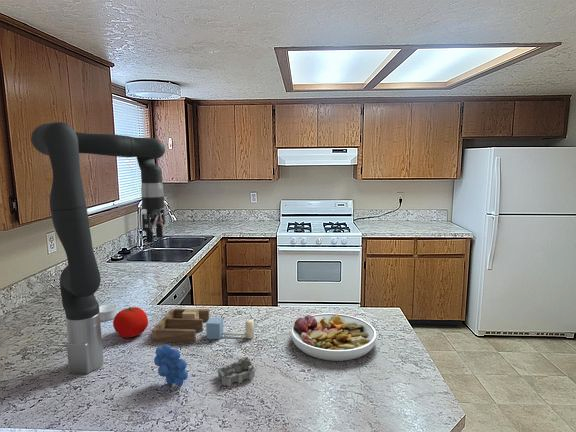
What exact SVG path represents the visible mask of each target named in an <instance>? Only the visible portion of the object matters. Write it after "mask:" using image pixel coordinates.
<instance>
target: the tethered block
mask: <svg viewBox="0 0 576 432" xmlns="http://www.w3.org/2000/svg"><path fill="white" fill-rule="evenodd" d="M205 328H206V340H221V338H222V336H245V338H246V339H248V340H249V339H250V340H251V339H254V338H255V332H254V331H255V323H254V320H253V319H246V320H245V332H232V331H231V332H230V331H229V332H228V331H227V332H225V331H224V318H223V317H209V320H208V321H206V323H205Z"/></svg>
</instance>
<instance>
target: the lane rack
mask: <svg viewBox="0 0 576 432" xmlns="http://www.w3.org/2000/svg"><path fill="white" fill-rule="evenodd" d="M185 309H186V308H171V309H170V310H169V311H168V312H166V314H165V315H164V317H162V318H161V320H160V321H158V323H157V324H156V325H155V326H154V327H153V328H152V329H151V338H152V339H151V341H152V343H177V344H179V343H181V344H183V343H184V344H185V343H186V344H195V343H196V342H197V332H203V331H204V322H207V321H208V320H209V318H210V309H207V308H202V309H201V308H197V309H198V310H199V319H182V313H183V312H184V311H185Z"/></svg>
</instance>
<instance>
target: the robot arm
mask: <svg viewBox="0 0 576 432" xmlns="http://www.w3.org/2000/svg"><path fill="white" fill-rule="evenodd" d="M30 140H31V144H32V147H34V149H35V150H36V151H38V152H39V153H40V154H43V155H46V156H48V157H49V160H50V166H51V170H52V183H51V189H50V194H49V210H50V215H51V219H52V220H51V221H52V224H53V227H54V230H55V232H56V235H57V237H58V239H59V242H60V243H61V245H62V248H63V250H64V252H65V255H66V261H67V265H66V266H65V267H64V268H63V269H62V270H61V274H60V276H59V288H60V295H61V302H62V303H61V304H62V307H63V310H64V312H65V320H66V332H67V342H68V343H67V344H66V350H67V360H68V361H67V362H68V371H69V372H68V373H69V374H80V375H81V374H84V375H88V374H89V375H90V373H91V372H94V371H96V370H98V369H99V368H101V367H102V366H103V365H104V352H103V350H104V349H103V341H102V329H101V326H102V325H101V321H100V312H99V306H100V305H99V302H98V300H97V298H96V295H95V293H96V292H97V291H98V290H99V288H100V285H101V278H102V277H101V274H100V273H101V271H100V270H99V266H98V263H97V259H96V257H95V252H94V248H93V241H92V234H91V228H90V221H89V220H90V219H89V214H88V213H89V212H88V208H87V202H86V197H85V192H84V186H83V180H82V174H81V166H80V154H86V155H87V154H89V155H97V156H98V155H99V156H107V157H109V156H110V157H119V158H136V160H137V163H138V167H139V170H140V180H141V181H140V182H141V184H140V185H141V186H140V187H141V188H140V190H141V192H140V194H141V208H142V209H143V210H146V213H142V214H141V219H142V220H141V221H142V223H141V225H142V231H143V232H145V234H146V235H145V237H146V243H154V241H155V240H154V228H155V230H156V231H155V233H156V234H155V237H156V238H157V239H158V238H161V239H162V238H163V235H164V233H163V232H164V231H163V230H164V229H163V227H164V225H166V219H165V217H166V215H165V209H164V208H165V195H164V185H163V172H162V168H161V166H159V165H157V164H156V163H155V162H156V161H155V160H158V159H160V158H161V157H163V156H164V154H165V153H166V147H165V144H164V143H163V141H161V140H160V139H157V138H154V137H153V138H152V137H135V136H129V135H121V134H113V133H86V132H77V131H75V130H74V129H73V127H72V126H71V125H70V124H68V123H66V122H61V121H60V122H59V121H57V122H56V121H55V122H49V123H47V122H46V123H43V124H40V125H38V126H37V127H35V129H33V131H32V132H31V136H30Z"/></svg>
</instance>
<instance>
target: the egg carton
mask: <svg viewBox="0 0 576 432" xmlns="http://www.w3.org/2000/svg"><path fill="white" fill-rule="evenodd" d="M243 369H245V371H242V370H243ZM246 370H248V371H246ZM256 370H257V369H256V367H254V365H252V361H251V360H250V359H249V357H248V356H246V357H241V358H239V359H238V361H234V362H233V363H230V364H226V365H224V366H222V367H217V368H216V371H217V373H218V375H217V376H218V377H217V378H218V380H221V385H222V386H227V387H230V386H232V384H233V383H238V384H239V383H243V381H244V380H245V379H247V380H253V379H254V377H255V373H256ZM241 371H242V372H241ZM239 372H241V373H239Z"/></svg>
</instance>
